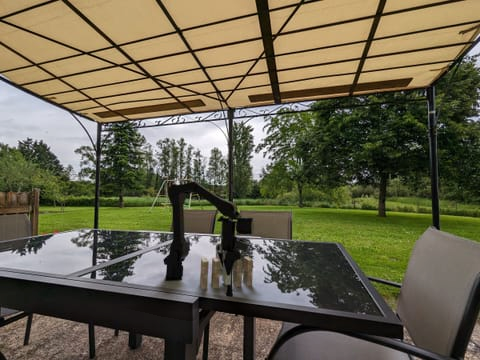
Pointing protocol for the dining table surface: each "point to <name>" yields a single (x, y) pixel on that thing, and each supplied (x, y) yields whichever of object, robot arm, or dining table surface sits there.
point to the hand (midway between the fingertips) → (226, 272)
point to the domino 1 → (204, 273)
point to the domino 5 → (247, 271)
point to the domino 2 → (215, 272)
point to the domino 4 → (237, 273)
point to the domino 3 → (226, 277)
